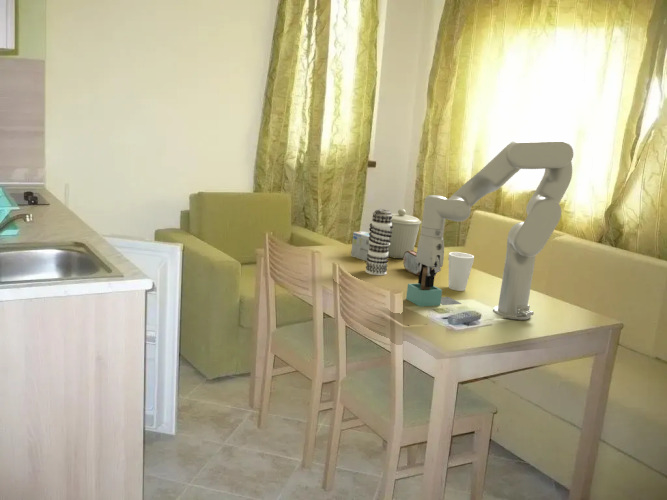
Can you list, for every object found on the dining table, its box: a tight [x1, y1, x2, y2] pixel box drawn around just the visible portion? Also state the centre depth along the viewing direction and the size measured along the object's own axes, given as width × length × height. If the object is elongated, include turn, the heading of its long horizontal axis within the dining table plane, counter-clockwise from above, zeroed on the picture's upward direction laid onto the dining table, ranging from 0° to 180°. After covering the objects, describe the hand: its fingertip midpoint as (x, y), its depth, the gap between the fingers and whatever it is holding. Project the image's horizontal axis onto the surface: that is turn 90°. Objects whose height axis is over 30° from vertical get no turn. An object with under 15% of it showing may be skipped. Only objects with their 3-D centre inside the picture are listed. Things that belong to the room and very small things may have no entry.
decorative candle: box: [365, 208, 393, 276], centre depth 272 cm, size 9×9×25 cm
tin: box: [402, 250, 425, 276], centre depth 280 cm, size 15×3×8 cm, turn 22°
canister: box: [388, 208, 422, 259], centre depth 306 cm, size 18×18×21 cm
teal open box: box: [405, 282, 443, 307], centre depth 238 cm, size 8×8×6 cm
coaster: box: [440, 296, 463, 306], centre depth 243 cm, size 8×8×1 cm
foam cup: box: [447, 251, 475, 292], centre depth 262 cm, size 10×9×13 cm
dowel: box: [421, 267, 432, 290], centre depth 237 cm, size 3×3×12 cm
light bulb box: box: [350, 231, 370, 262], centre depth 296 cm, size 11×7×11 cm, turn 43°
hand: (425, 284), depth 237 cm, fingers closed on dowel, 3 cm apart
